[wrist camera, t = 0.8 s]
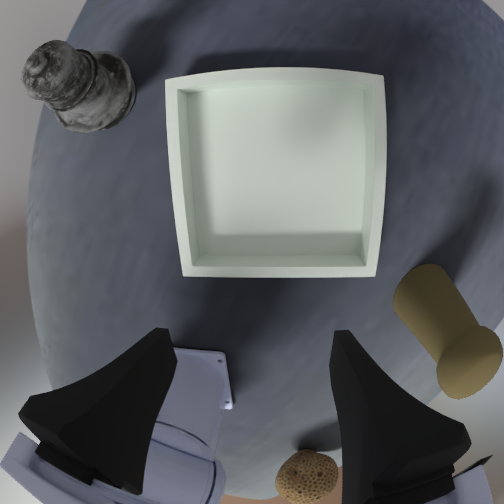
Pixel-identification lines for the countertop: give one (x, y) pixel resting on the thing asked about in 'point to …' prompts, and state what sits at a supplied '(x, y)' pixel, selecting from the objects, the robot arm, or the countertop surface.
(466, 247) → the countertop surface
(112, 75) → the gray chess piece
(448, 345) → the cork
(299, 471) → the natural sponge
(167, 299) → the countertop surface
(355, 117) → the tray
